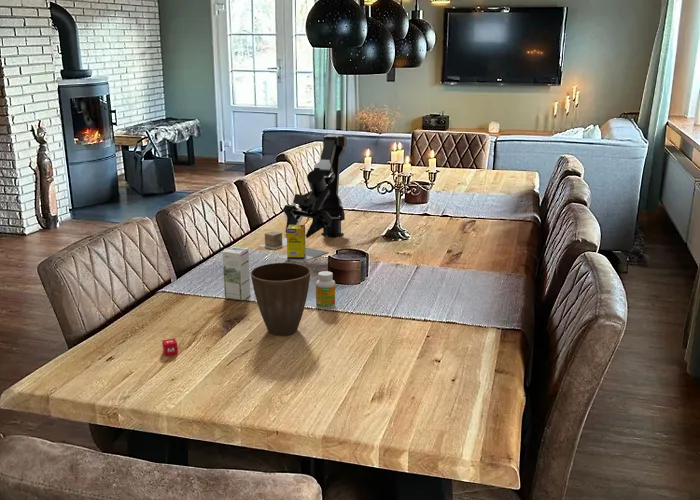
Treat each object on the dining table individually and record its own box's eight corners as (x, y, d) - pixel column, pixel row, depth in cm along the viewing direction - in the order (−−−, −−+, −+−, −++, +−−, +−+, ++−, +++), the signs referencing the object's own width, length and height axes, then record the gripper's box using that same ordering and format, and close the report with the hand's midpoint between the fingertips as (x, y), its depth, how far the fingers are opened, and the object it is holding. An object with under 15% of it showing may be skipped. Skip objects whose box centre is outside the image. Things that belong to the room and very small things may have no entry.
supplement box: (304, 259, 239) (303, 228, 236) (287, 259, 239) (286, 228, 236) (305, 254, 245) (305, 224, 242) (288, 254, 245) (288, 224, 242)
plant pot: (288, 346, 169) (286, 284, 165) (240, 334, 177) (238, 274, 172) (322, 327, 181) (322, 268, 177) (277, 315, 189) (275, 259, 184)
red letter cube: (165, 356, 164) (164, 344, 163) (163, 351, 166) (162, 340, 165) (178, 354, 165) (177, 342, 164) (175, 349, 167) (174, 338, 167)
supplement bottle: (321, 310, 193) (320, 277, 190) (312, 304, 197) (312, 271, 195) (338, 307, 195) (338, 274, 193) (330, 301, 200) (329, 269, 197)
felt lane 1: (284, 238, 267) (284, 237, 267) (299, 241, 262) (299, 241, 262) (258, 246, 256) (258, 245, 256) (274, 249, 252) (274, 249, 252)
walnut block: (273, 242, 260) (273, 231, 259) (282, 244, 257) (282, 233, 256) (265, 245, 257) (264, 233, 255) (274, 247, 254) (273, 235, 253)
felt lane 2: (307, 248, 254) (307, 247, 254) (328, 252, 248) (328, 252, 248) (278, 257, 242) (278, 257, 242) (299, 262, 236) (299, 262, 236)
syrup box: (251, 294, 205) (249, 247, 201) (241, 301, 200) (239, 252, 196) (233, 292, 207) (231, 245, 203) (224, 299, 201) (221, 251, 198)
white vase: (281, 232, 275) (280, 203, 272) (289, 228, 282) (289, 199, 279) (298, 234, 272) (297, 204, 269) (306, 230, 279) (306, 201, 276)
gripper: (285, 181, 245) (264, 218, 239) (327, 187, 234) (306, 225, 229) (300, 200, 253) (280, 235, 248) (341, 207, 242) (321, 244, 237)
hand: (296, 235), depth 240 cm, fingers open, 9 cm apart
